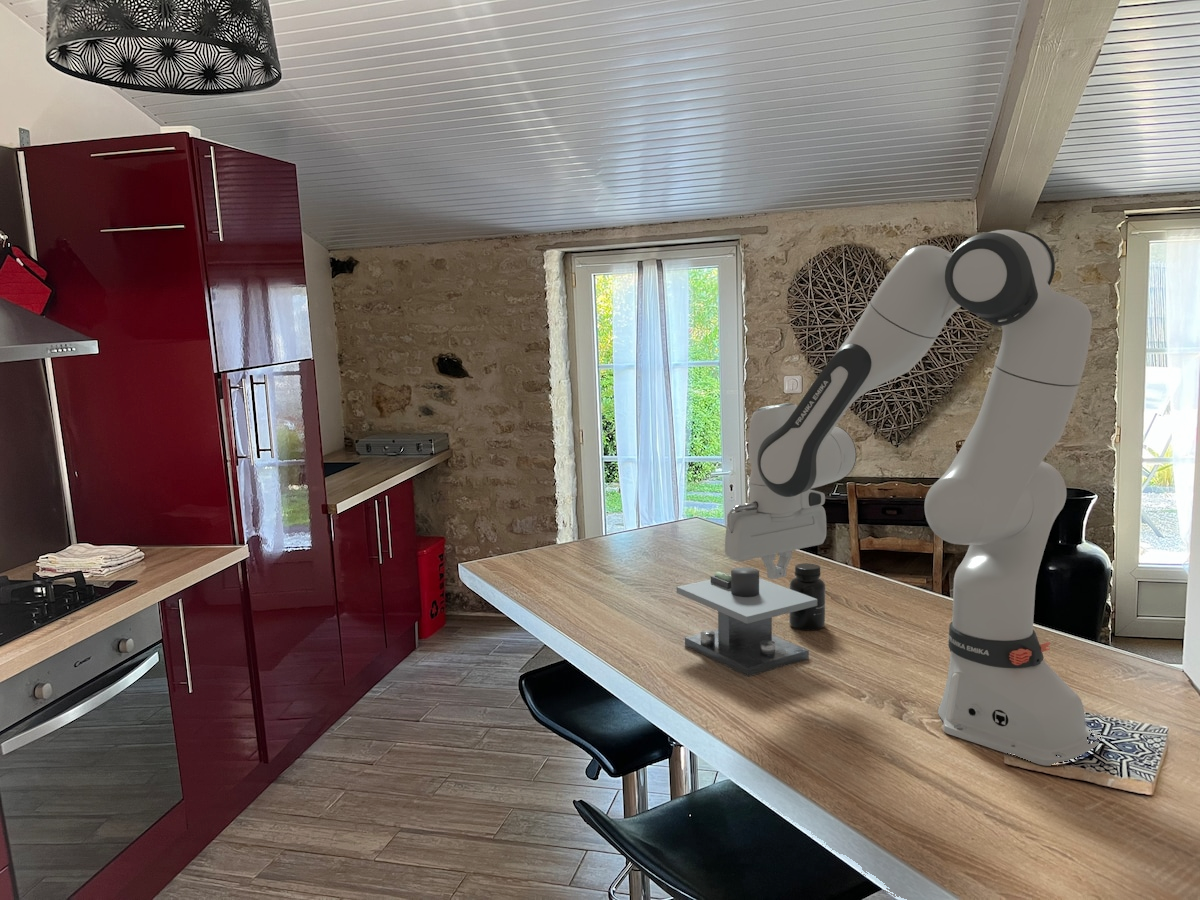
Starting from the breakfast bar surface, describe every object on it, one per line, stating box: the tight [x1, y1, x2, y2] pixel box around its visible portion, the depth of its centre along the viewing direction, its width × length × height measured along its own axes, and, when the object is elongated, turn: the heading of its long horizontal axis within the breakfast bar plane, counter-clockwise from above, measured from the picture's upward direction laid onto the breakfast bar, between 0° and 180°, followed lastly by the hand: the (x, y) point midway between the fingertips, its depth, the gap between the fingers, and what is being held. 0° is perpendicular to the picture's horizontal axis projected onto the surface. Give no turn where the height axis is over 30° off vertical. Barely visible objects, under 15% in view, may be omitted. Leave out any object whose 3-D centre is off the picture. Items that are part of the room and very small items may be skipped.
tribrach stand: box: [684, 611, 810, 677], centre depth 169 cm, size 18×14×9 cm
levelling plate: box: [676, 566, 817, 624], centre depth 168 cm, size 20×16×6 cm
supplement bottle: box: [788, 563, 826, 631], centre depth 182 cm, size 7×7×12 cm
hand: (776, 577), depth 160 cm, fingers closed
